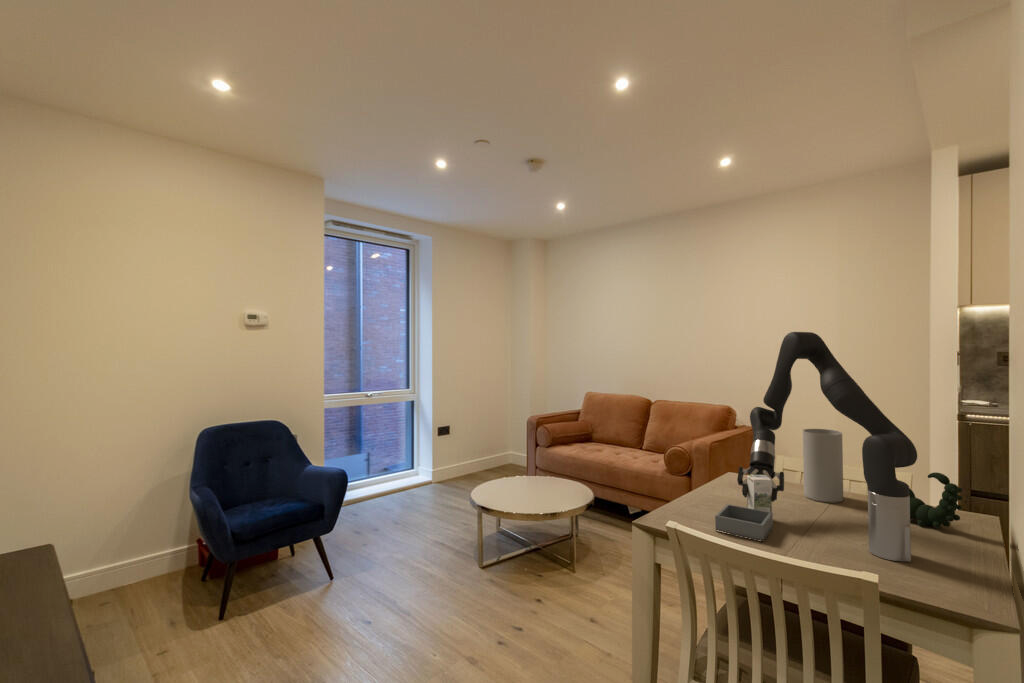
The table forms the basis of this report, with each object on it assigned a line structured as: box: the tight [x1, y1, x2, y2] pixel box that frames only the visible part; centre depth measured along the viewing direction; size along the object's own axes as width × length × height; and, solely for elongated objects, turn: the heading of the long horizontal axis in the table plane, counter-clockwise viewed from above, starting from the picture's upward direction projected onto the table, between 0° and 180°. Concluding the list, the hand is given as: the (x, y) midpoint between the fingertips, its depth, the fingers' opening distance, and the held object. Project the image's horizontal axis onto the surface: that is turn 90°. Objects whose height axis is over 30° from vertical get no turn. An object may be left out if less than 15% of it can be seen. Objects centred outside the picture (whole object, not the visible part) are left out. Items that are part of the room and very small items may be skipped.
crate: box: [714, 503, 774, 542], centre depth 151 cm, size 14×14×5 cm
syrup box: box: [746, 474, 773, 513], centre depth 159 cm, size 6×6×14 cm
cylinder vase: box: [802, 428, 844, 504], centre depth 180 cm, size 12×12×25 cm
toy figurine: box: [909, 472, 963, 529], centre depth 156 cm, size 9×19×25 cm
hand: (758, 498), depth 158 cm, fingers closed on syrup box, 7 cm apart
